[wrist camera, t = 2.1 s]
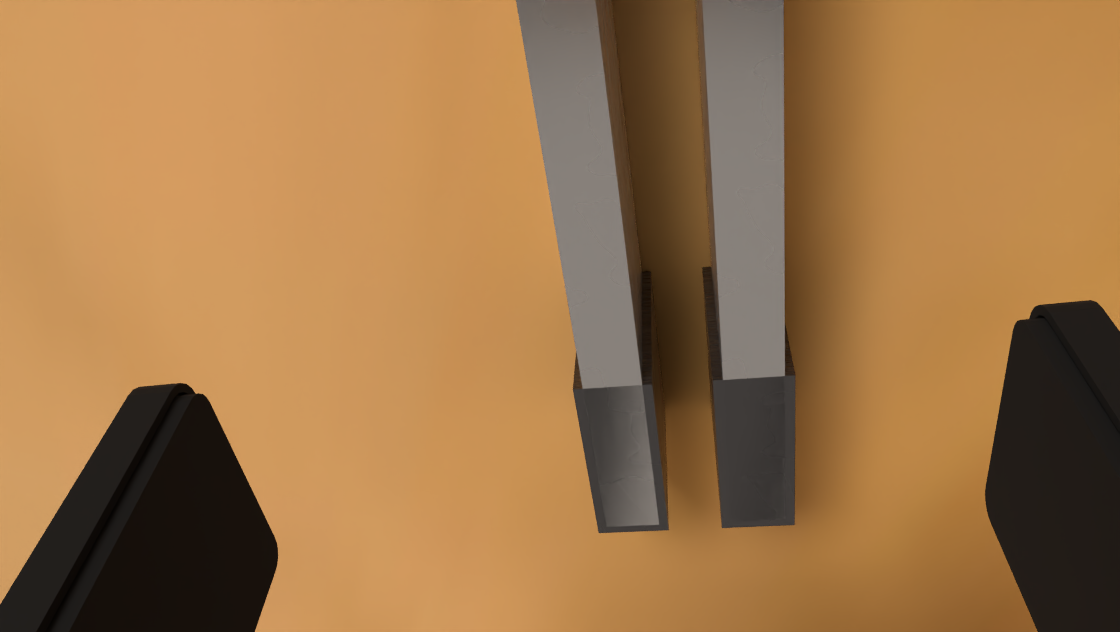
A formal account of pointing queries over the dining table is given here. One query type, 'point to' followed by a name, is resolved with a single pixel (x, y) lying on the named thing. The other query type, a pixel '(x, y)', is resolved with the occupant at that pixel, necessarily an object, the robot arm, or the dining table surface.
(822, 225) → the dining table surface
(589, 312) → the tongs
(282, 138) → the dining table surface
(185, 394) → the robot arm
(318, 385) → the dining table surface
